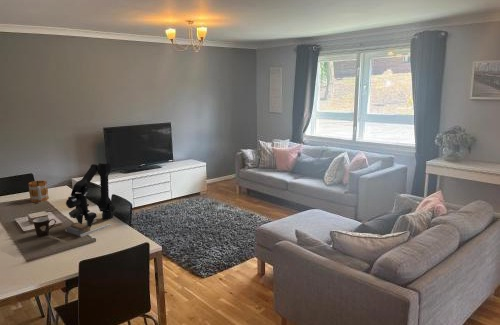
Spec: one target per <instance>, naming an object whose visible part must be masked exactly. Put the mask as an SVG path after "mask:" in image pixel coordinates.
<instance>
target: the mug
mask: <svg viewBox="0 0 500 325" xmlns="http://www.w3.org/2000/svg"><path fill="white" fill-rule="evenodd" d="M47 182H48V181H47V180H44V179H43V180H42V179H41V180H35V181H33V180H32V181H30V182H28V184H27V186H28V192H29V198H30V200H29V202H31V203H42V202H45V201H46V202H47V201H48V200H49V198H50V197H49V190H48V183H47ZM41 201H42V202H41Z"/></svg>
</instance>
